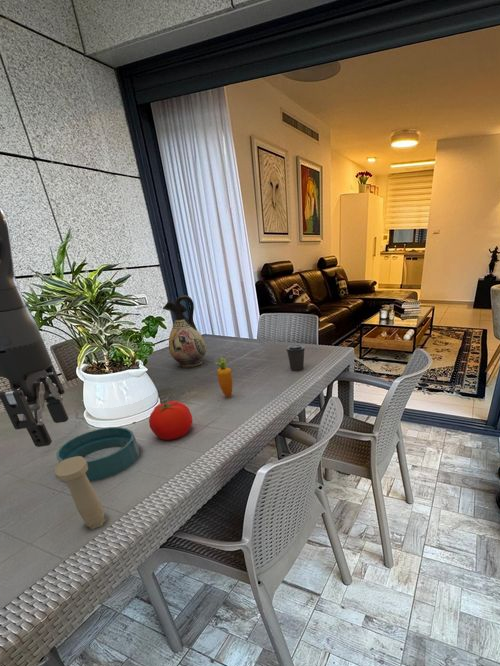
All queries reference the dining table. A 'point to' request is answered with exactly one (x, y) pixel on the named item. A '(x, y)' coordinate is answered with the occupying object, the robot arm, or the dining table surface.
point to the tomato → (170, 420)
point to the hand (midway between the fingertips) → (53, 432)
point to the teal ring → (99, 441)
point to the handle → (81, 490)
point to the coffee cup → (296, 357)
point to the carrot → (225, 378)
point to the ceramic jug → (185, 335)
